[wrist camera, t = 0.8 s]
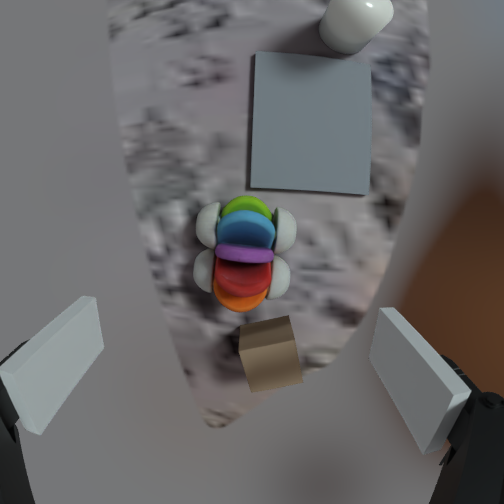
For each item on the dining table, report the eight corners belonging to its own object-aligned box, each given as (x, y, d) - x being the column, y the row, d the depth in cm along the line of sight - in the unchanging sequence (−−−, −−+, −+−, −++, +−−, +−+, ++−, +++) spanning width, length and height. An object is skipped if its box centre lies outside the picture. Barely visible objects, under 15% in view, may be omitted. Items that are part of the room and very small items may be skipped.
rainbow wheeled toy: (196, 289, 30) (181, 322, 23) (203, 189, 28) (188, 195, 21) (282, 298, 31) (290, 333, 24) (296, 199, 28) (310, 208, 21)
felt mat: (255, 53, 25) (255, 51, 24) (368, 66, 25) (370, 65, 24) (250, 187, 28) (250, 187, 27) (366, 194, 28) (368, 195, 27)
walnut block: (240, 325, 31) (238, 351, 26) (288, 314, 31) (294, 339, 26) (251, 363, 32) (251, 392, 28) (296, 354, 32) (303, 382, 27)
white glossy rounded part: (317, 10, 23) (333, -26, 16) (364, 18, 23) (389, -12, 16) (319, 50, 24) (336, 19, 18) (367, 58, 24) (396, 32, 18)
